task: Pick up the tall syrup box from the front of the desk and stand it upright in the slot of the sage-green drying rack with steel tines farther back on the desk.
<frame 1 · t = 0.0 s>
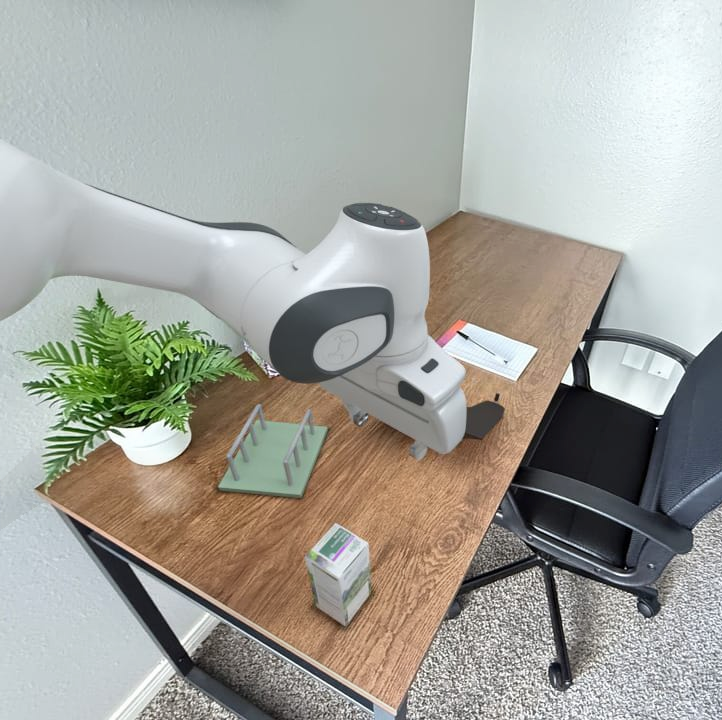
hand: (388, 438, 59), 26 cm above the table, tool pointing down, fingers open, 8 cm apart
syrup box: (344, 600, 68), on the table
laptop tray: (445, 420, 98), on the table
drying rack: (277, 458, 86), on the table
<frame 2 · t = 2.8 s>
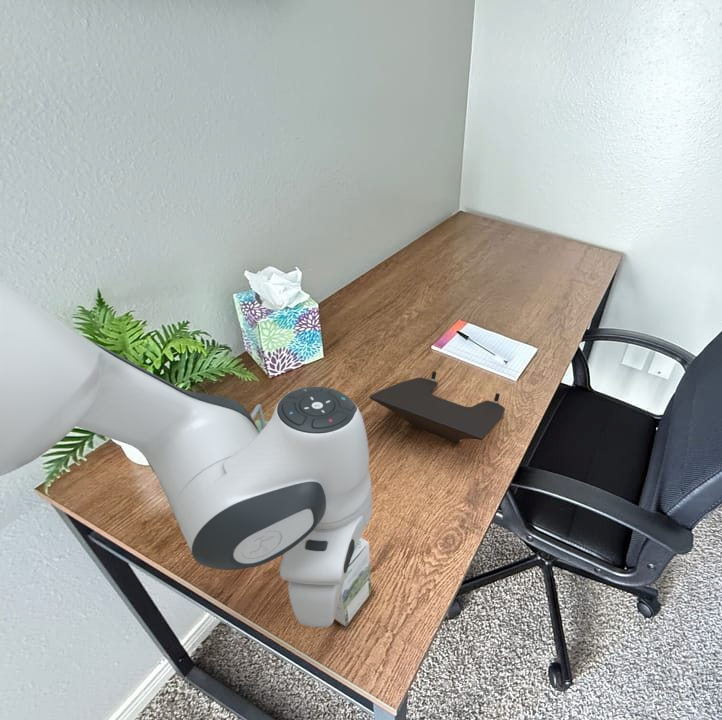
hand: (343, 563, 62), 10 cm above the table, tool pointing down, fingers open, 8 cm apart
nothing on the table moved.
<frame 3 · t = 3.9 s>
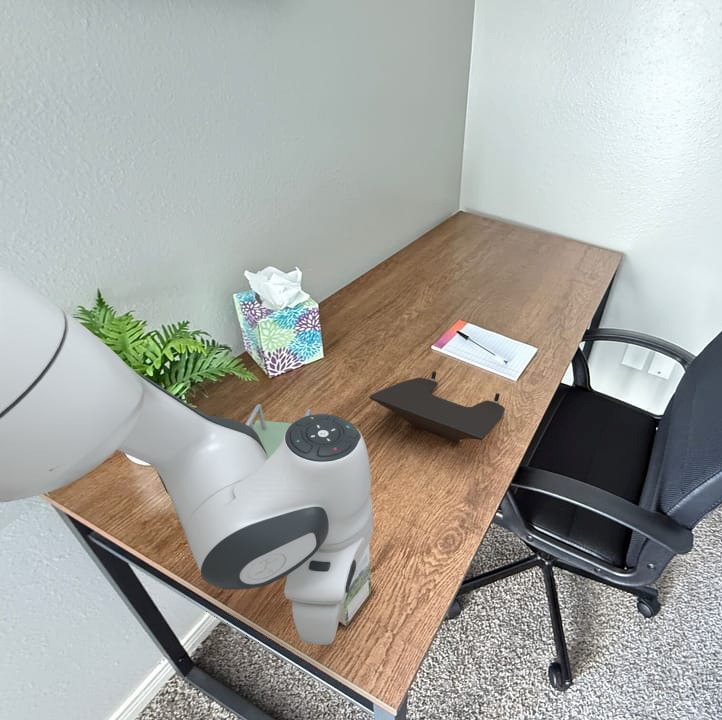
hand: (343, 580, 64), 6 cm above the table, tool pointing down, fingers closed on syrup box, 7 cm apart
syrup box: (344, 600, 68), on the table, touching gripper
everything else where it was.
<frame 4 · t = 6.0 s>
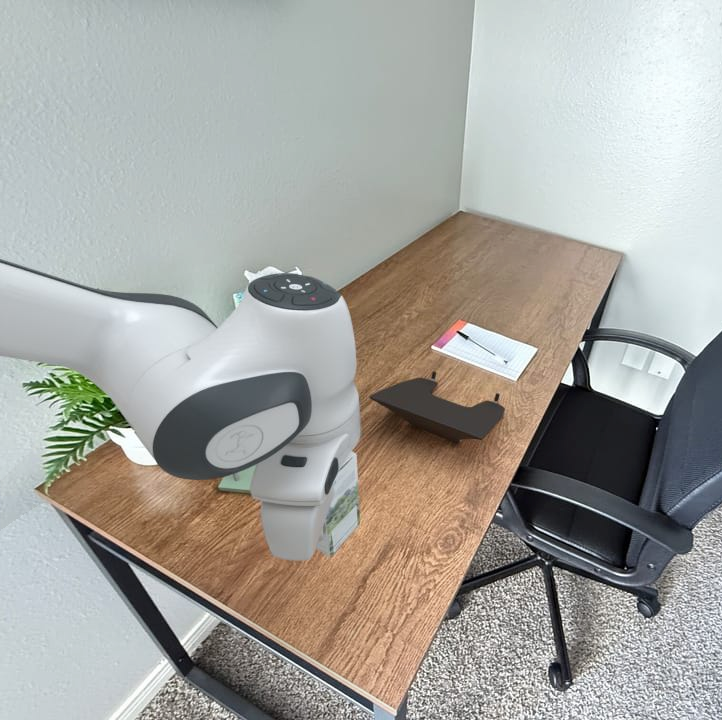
hand: (327, 504, 56), 22 cm above the table, tool pointing down, fingers closed on syrup box, 7 cm apart
syrup box: (329, 531, 60), point 15 cm above the table, touching gripper
everything else where it was.
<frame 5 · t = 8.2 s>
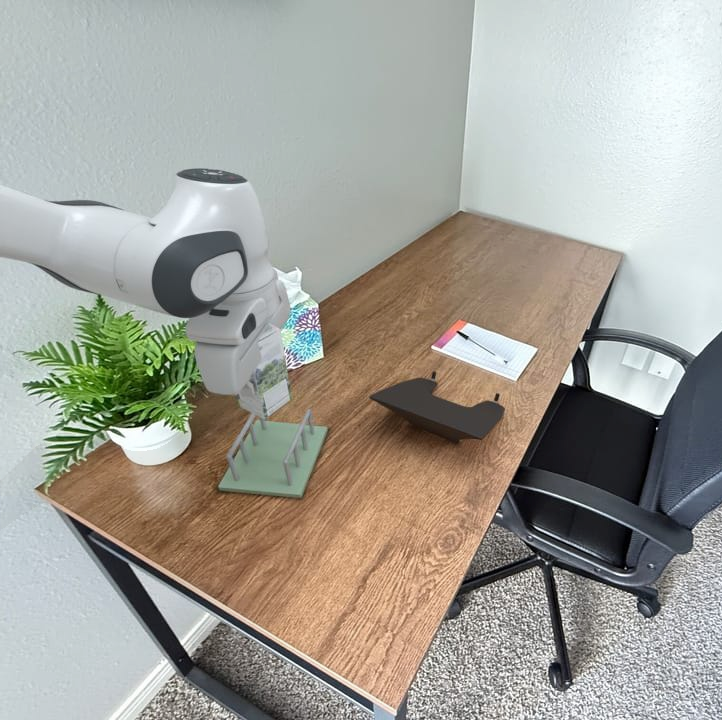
hand: (261, 375, 70), 23 cm above the table, tool pointing down, fingers closed on syrup box, 7 cm apart
syrup box: (267, 404, 74), point 17 cm above the table, touching gripper
everything else where it was.
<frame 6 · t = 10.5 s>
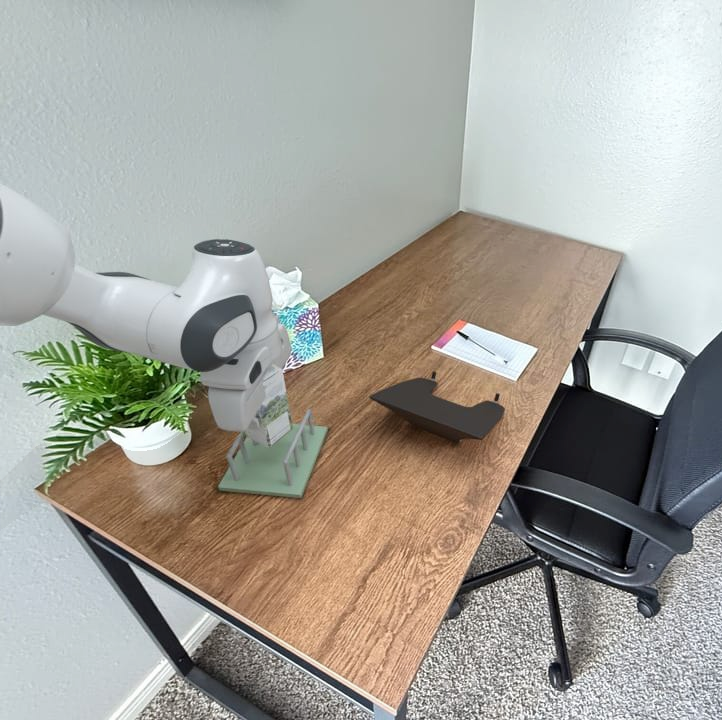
hand: (265, 409, 78), 13 cm above the table, tool pointing down, fingers closed on syrup box, 7 cm apart
syrup box: (270, 433, 82), point 7 cm above the table, touching gripper
everything else where it was.
when the fingers open (7 cm above the table, at t = 12.6 s): syrup box stays where it is, resting on drying rack.
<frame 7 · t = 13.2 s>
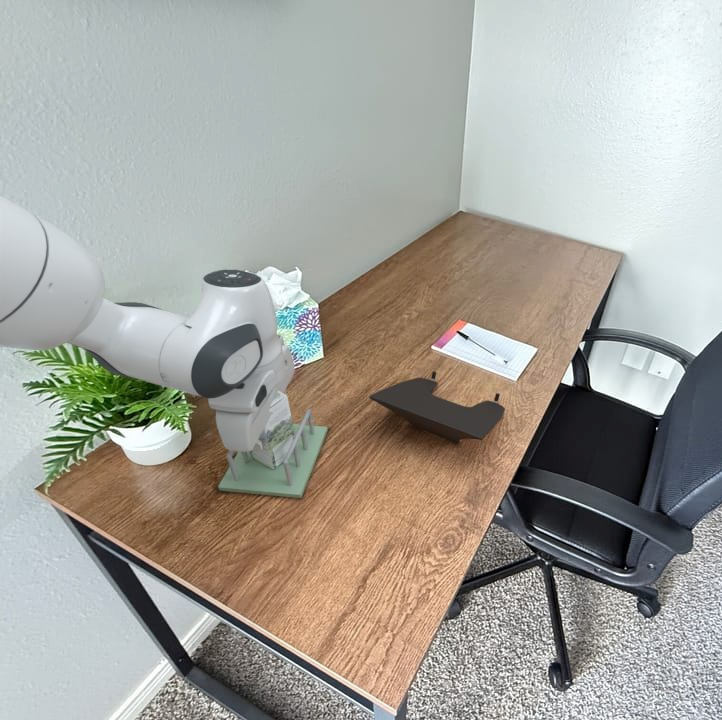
hand: (269, 427, 81), 8 cm above the table, tool pointing down, fingers open, 8 cm apart
syrup box: (275, 454, 86), point 1 cm above the table, touching drying rack
everything else where it was.
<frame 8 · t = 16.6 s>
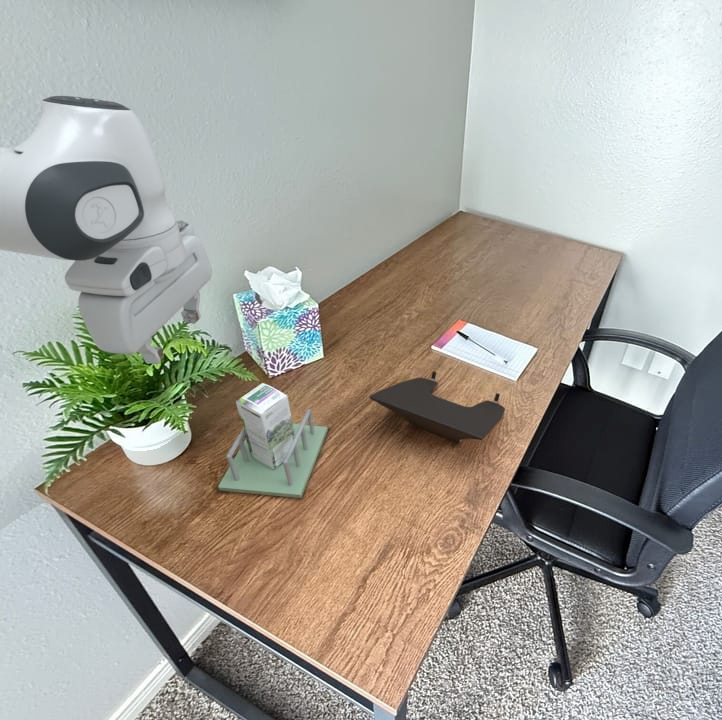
hand: (175, 339, 65), 29 cm above the table, tool pointing down, fingers open, 8 cm apart
nothing on the table moved.
at the end: syrup box inside the target area on the drying rack (0.3 cm from its centre), point 0.8 cm above the drying rack's base; syrup box tilted 0°; the gripper is holding nothing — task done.
